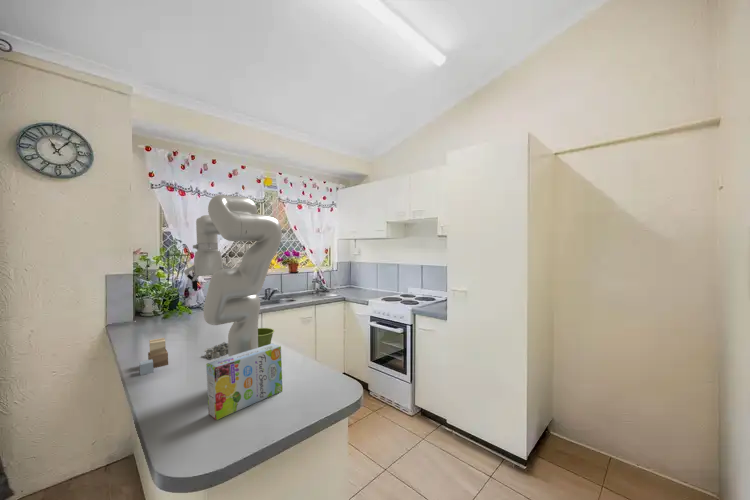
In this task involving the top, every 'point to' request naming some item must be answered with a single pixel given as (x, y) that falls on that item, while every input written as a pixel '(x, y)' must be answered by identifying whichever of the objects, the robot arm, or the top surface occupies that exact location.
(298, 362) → the top surface
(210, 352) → the egg carton
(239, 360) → the snack box
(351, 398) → the top surface
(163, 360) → the walnut block
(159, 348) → the maple cube
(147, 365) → the slate cube
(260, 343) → the plant pot
